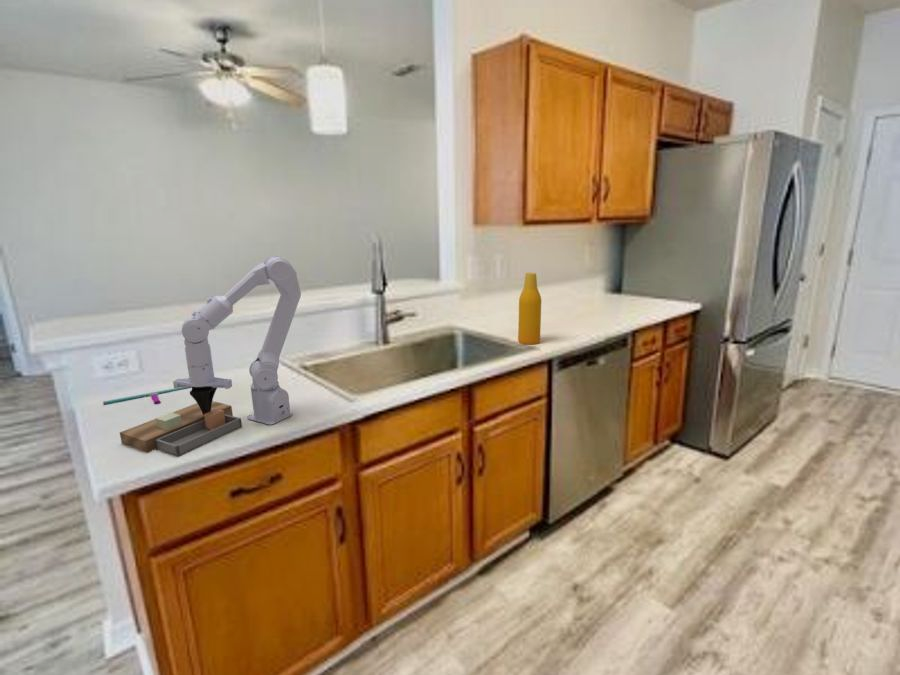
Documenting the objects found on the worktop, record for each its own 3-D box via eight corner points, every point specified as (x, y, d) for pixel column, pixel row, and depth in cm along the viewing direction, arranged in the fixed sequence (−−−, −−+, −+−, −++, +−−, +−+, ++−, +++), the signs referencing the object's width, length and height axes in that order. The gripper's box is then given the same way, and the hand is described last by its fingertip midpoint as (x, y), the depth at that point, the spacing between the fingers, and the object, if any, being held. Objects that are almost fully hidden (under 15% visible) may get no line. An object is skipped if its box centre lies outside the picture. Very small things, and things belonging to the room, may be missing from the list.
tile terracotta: (218, 421, 132) (225, 424, 131) (205, 427, 129) (212, 430, 128) (217, 408, 131) (223, 410, 130) (204, 414, 128) (210, 416, 127)
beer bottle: (543, 340, 210) (545, 272, 203) (535, 346, 202) (537, 275, 195) (523, 338, 215) (524, 271, 207) (514, 343, 207) (515, 274, 200)
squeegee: (105, 410, 140) (102, 400, 147) (106, 416, 140) (103, 405, 148) (214, 389, 156) (207, 381, 164) (214, 394, 157) (207, 386, 164)
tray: (241, 427, 130) (240, 418, 130) (178, 456, 115) (176, 446, 114) (221, 421, 134) (219, 412, 134) (156, 449, 119) (154, 439, 118)
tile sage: (182, 424, 126) (180, 415, 125) (167, 430, 122) (165, 421, 122) (172, 421, 127) (170, 412, 127) (157, 427, 124) (155, 418, 123)
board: (232, 415, 138) (231, 405, 137) (147, 452, 117) (145, 441, 117) (207, 409, 143) (206, 399, 142) (121, 443, 122) (119, 432, 121)
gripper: (235, 359, 129) (241, 407, 133) (181, 359, 130) (188, 407, 134) (221, 367, 123) (228, 418, 126) (165, 367, 124) (173, 417, 127)
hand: (207, 413), depth 129 cm, fingers closed
